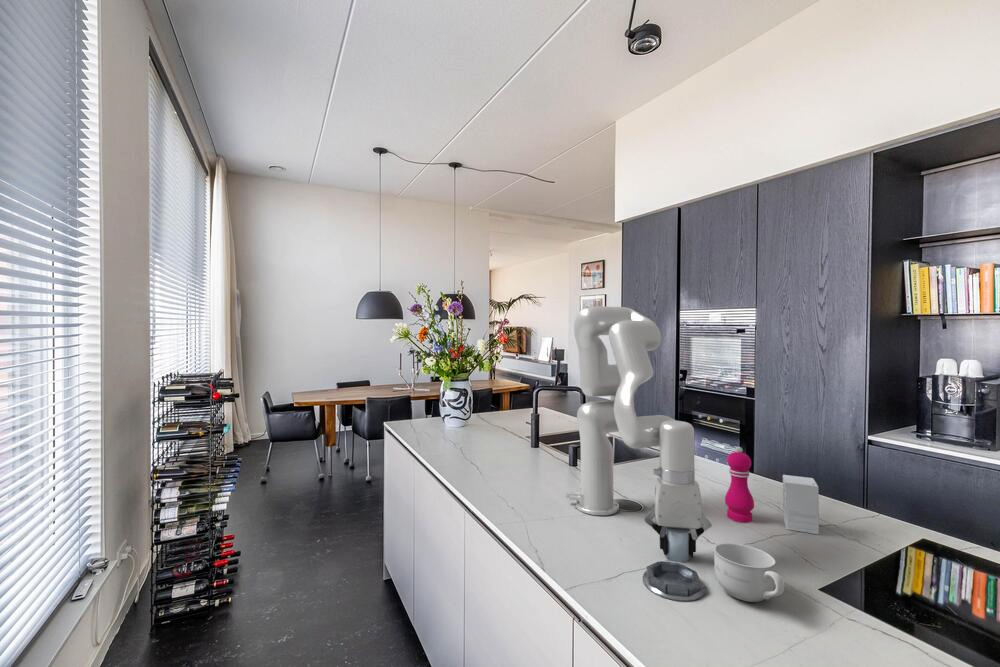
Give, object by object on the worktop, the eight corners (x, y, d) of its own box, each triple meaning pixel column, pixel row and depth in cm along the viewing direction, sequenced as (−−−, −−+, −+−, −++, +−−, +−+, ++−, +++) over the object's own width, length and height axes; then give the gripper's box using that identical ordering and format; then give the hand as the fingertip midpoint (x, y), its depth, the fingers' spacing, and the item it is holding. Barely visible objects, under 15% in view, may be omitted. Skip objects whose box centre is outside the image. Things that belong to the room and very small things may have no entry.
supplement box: (814, 524, 119) (814, 477, 119) (819, 535, 113) (819, 486, 113) (782, 519, 123) (782, 473, 123) (785, 529, 116) (784, 481, 116)
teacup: (703, 579, 93) (703, 541, 93) (752, 576, 94) (752, 539, 94) (745, 622, 79) (745, 577, 79) (802, 618, 80) (802, 574, 80)
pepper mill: (758, 524, 119) (757, 450, 119) (729, 522, 121) (729, 449, 121) (749, 513, 126) (748, 444, 126) (721, 512, 128) (721, 443, 128)
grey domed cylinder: (668, 561, 101) (667, 530, 101) (664, 550, 105) (664, 521, 105) (691, 563, 100) (691, 532, 100) (686, 552, 104) (686, 523, 104)
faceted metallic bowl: (646, 597, 87) (646, 587, 87) (639, 566, 98) (639, 557, 98) (711, 604, 84) (711, 594, 84) (697, 571, 96) (697, 562, 96)
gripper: (640, 478, 101) (641, 557, 101) (721, 482, 97) (721, 565, 97) (637, 468, 108) (637, 542, 108) (712, 472, 104) (712, 549, 104)
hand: (677, 552), depth 102 cm, fingers closed on grey domed cylinder, 5 cm apart
